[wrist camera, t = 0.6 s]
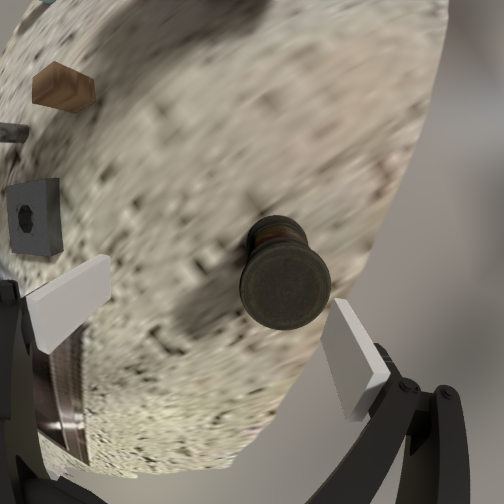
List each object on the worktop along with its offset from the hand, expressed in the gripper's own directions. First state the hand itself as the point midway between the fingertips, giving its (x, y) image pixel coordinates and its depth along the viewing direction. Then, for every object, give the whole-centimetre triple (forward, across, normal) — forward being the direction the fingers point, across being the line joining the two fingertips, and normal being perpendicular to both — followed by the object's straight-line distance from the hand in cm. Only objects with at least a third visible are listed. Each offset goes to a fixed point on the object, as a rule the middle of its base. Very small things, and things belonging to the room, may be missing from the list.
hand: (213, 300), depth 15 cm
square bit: (+27, -33, +19) cm, 46 cm away
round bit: (+27, -50, +12) cm, 58 cm away
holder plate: (+27, -42, -5) cm, 50 cm away
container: (+27, +5, -2) cm, 28 cm away
